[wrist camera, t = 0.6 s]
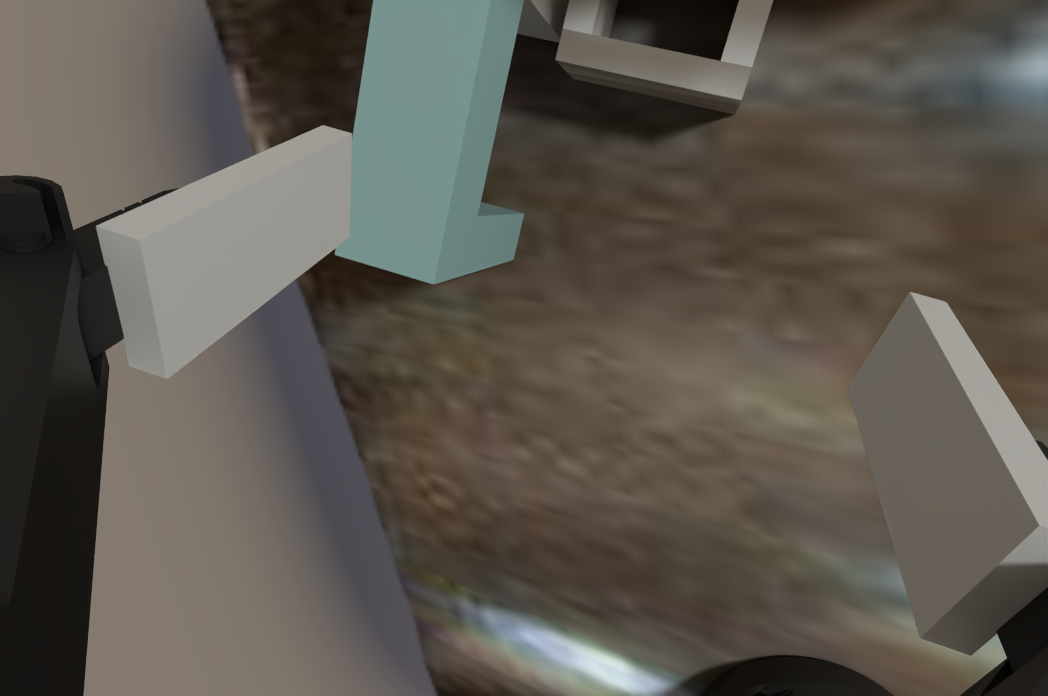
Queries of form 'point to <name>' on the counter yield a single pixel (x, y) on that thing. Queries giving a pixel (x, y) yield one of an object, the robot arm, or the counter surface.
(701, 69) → the post
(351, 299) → the counter surface
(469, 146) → the rail
